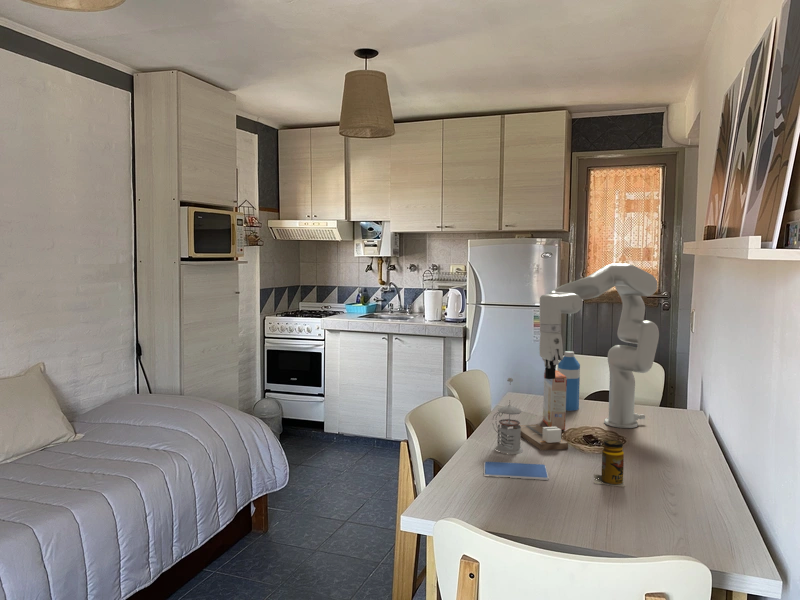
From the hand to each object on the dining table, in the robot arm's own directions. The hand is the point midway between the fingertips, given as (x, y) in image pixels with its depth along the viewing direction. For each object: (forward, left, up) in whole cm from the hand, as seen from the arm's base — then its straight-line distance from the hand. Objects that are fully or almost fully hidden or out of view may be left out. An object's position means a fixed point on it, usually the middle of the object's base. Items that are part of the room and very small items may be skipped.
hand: (550, 378), depth 216 cm
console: (+4, +1, -22) cm, 22 cm away
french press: (+20, +9, -22) cm, 31 cm away
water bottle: (-29, -39, -22) cm, 54 cm away
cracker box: (-10, -15, -22) cm, 29 cm away
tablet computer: (+26, +30, -23) cm, 46 cm away
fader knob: (+4, +10, -20) cm, 23 cm away
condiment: (+2, +43, -22) cm, 48 cm away
